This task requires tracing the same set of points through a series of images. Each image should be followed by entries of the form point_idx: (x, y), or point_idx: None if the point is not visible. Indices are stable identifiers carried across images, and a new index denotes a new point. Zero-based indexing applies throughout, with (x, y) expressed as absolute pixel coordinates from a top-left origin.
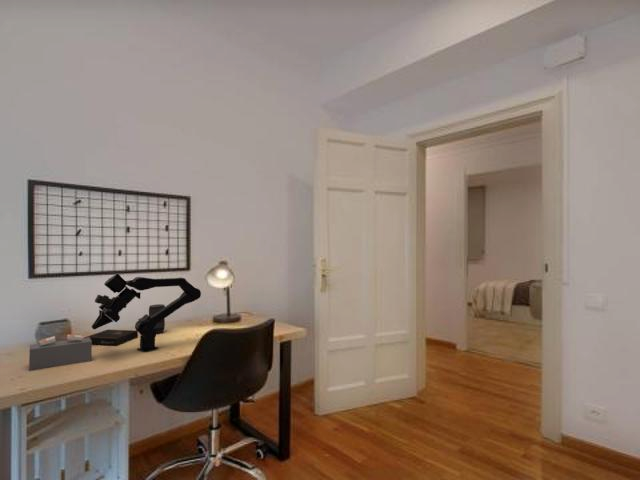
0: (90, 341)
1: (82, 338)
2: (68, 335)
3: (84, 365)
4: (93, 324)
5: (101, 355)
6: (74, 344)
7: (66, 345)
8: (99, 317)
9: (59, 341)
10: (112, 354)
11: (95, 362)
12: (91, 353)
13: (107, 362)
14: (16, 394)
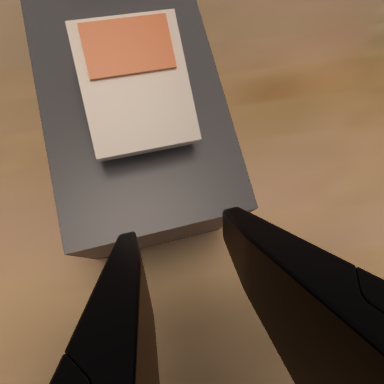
0: (64, 242)
1: (97, 158)
2: (114, 15)
3: (7, 233)
4: (241, 232)
5: (206, 303)
6: (44, 117)
7: (32, 63)
8: (367, 362)
9: (181, 2)
10: (205, 375)
11: (46, 290)
12: (87, 257)
13: (5, 373)
14: None
